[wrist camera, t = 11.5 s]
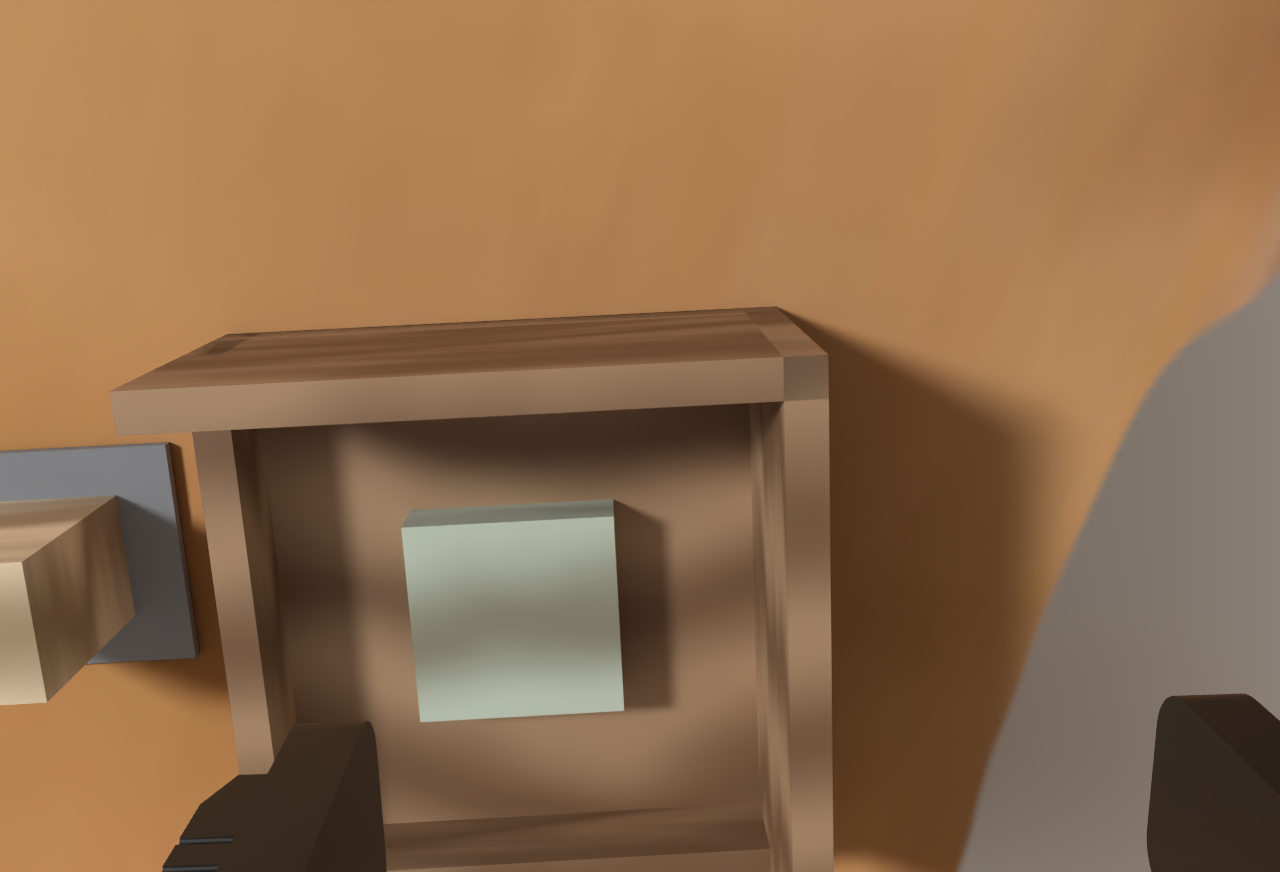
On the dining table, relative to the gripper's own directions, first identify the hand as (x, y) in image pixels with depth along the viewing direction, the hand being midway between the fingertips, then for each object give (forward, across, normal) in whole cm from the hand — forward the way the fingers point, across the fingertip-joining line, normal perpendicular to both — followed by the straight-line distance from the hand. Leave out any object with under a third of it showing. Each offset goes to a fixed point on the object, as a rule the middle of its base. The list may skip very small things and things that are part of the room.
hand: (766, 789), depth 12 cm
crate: (+30, +5, +9) cm, 32 cm away
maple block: (+30, +21, +8) cm, 37 cm away
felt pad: (+30, +21, +8) cm, 38 cm away
